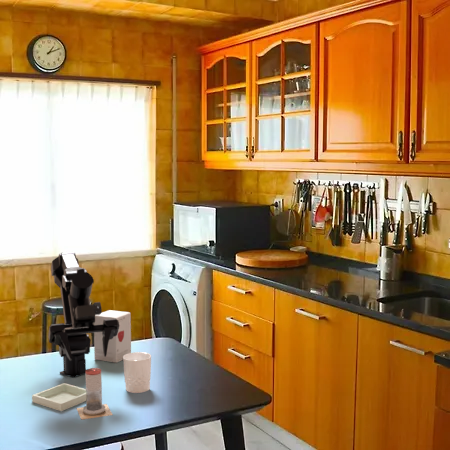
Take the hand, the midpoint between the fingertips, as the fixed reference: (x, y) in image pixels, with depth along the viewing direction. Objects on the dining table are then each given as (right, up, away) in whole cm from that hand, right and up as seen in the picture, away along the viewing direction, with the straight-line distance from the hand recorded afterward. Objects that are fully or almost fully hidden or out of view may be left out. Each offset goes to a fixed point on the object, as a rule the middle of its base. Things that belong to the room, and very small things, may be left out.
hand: (88, 357), depth 176 cm
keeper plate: (+3, -13, -5) cm, 15 cm away
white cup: (+12, -12, +12) cm, 20 cm away
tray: (-8, -13, +3) cm, 15 cm away
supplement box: (0, -9, +42) cm, 43 cm away
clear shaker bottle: (+3, -13, -5) cm, 14 cm away
